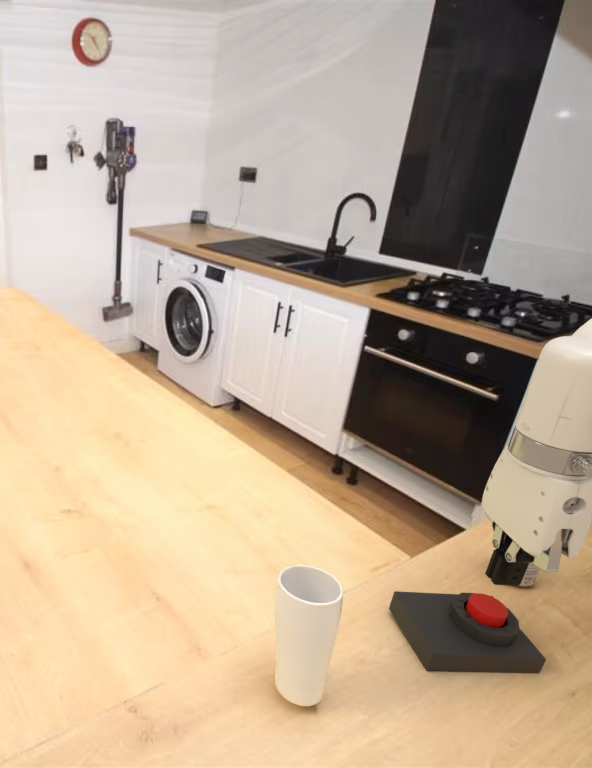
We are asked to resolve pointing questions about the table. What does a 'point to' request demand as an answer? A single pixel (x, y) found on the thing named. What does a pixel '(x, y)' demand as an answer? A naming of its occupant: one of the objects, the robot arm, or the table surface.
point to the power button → (487, 610)
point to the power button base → (461, 636)
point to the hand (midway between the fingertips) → (502, 580)
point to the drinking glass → (305, 631)
